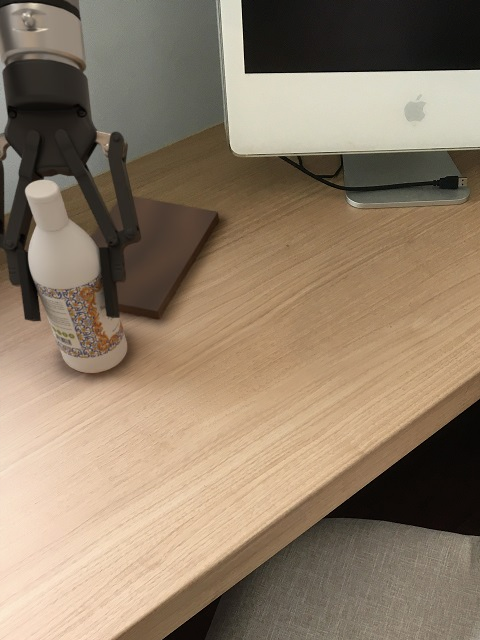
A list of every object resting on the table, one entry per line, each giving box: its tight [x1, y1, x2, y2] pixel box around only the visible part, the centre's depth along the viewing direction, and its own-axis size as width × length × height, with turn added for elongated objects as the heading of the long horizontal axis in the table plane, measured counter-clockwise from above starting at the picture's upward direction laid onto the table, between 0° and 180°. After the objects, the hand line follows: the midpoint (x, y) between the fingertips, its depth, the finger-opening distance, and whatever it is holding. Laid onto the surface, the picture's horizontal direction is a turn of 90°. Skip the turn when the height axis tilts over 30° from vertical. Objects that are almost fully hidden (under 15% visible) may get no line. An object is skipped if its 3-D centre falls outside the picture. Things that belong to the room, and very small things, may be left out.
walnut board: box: [90, 195, 220, 320], centre depth 96 cm, size 13×20×1 cm, turn 167°
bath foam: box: [25, 179, 128, 374], centre depth 78 cm, size 7×7×20 cm
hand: (73, 318), depth 78 cm, fingers closed on bath foam, 7 cm apart
